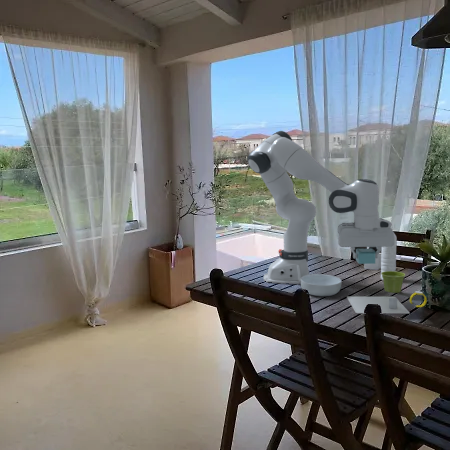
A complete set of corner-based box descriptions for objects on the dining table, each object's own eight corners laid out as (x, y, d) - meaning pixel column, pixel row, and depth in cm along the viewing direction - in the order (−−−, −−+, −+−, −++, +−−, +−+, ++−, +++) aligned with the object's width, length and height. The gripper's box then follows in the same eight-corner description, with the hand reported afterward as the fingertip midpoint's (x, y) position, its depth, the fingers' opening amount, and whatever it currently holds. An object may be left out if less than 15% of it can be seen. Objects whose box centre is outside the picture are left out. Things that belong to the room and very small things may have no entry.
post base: (356, 316, 158) (356, 303, 158) (346, 300, 177) (346, 288, 176) (410, 317, 157) (410, 303, 156) (394, 300, 175) (395, 288, 174)
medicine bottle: (381, 267, 227) (382, 244, 225) (378, 270, 221) (378, 247, 219) (367, 265, 230) (368, 243, 229) (363, 268, 225) (364, 246, 223)
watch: (423, 306, 169) (425, 291, 168) (426, 308, 166) (428, 293, 165) (408, 305, 169) (409, 290, 168) (410, 307, 166) (412, 292, 165)
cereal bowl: (315, 304, 174) (315, 287, 172) (293, 292, 189) (293, 277, 188) (349, 297, 180) (350, 281, 179) (325, 287, 195) (325, 272, 194)
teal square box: (358, 263, 164) (358, 252, 163) (356, 260, 170) (356, 248, 169) (375, 263, 163) (375, 251, 162) (371, 259, 169) (372, 248, 168)
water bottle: (397, 281, 201) (398, 227, 197) (382, 281, 202) (384, 228, 198) (391, 276, 210) (393, 224, 206) (378, 276, 210) (379, 225, 207)
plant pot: (377, 290, 188) (378, 271, 187) (399, 290, 188) (400, 270, 187) (384, 297, 179) (385, 277, 178) (408, 297, 179) (408, 276, 177)
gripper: (338, 224, 162) (338, 260, 164) (396, 223, 159) (395, 260, 162) (336, 221, 168) (336, 256, 170) (391, 220, 166) (390, 256, 168)
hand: (365, 258), depth 166 cm, fingers closed on teal square box, 6 cm apart
